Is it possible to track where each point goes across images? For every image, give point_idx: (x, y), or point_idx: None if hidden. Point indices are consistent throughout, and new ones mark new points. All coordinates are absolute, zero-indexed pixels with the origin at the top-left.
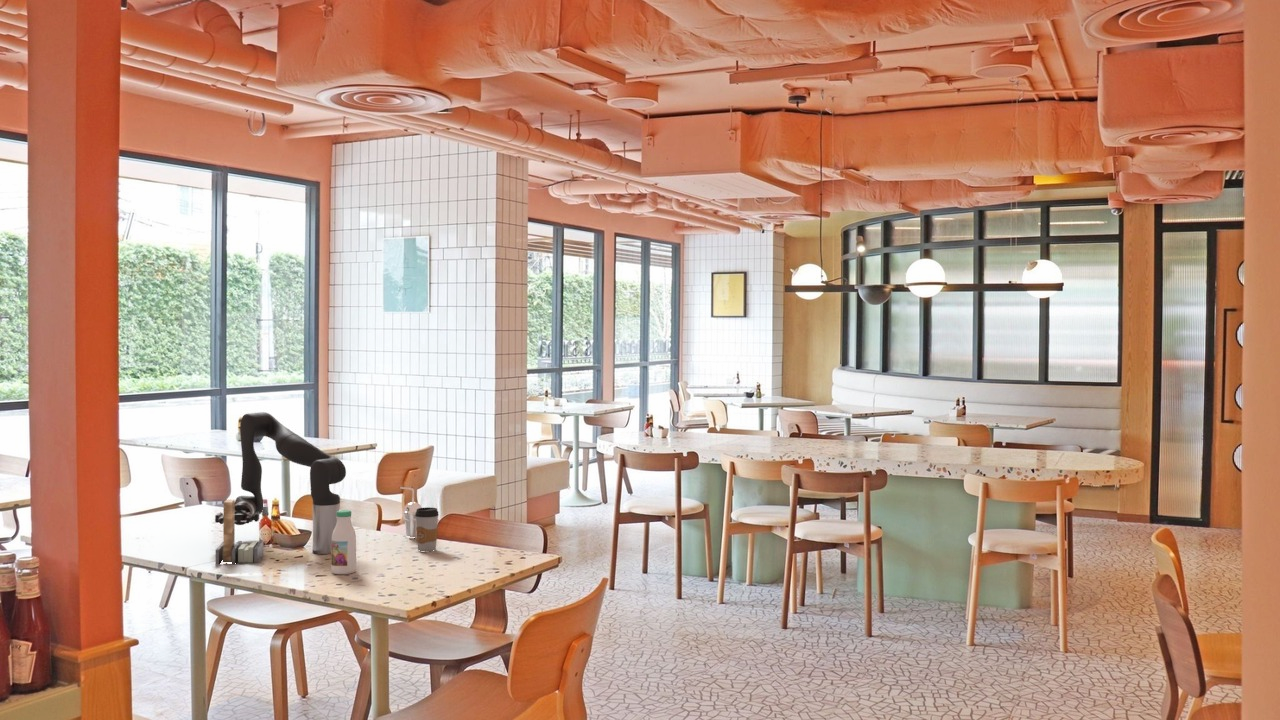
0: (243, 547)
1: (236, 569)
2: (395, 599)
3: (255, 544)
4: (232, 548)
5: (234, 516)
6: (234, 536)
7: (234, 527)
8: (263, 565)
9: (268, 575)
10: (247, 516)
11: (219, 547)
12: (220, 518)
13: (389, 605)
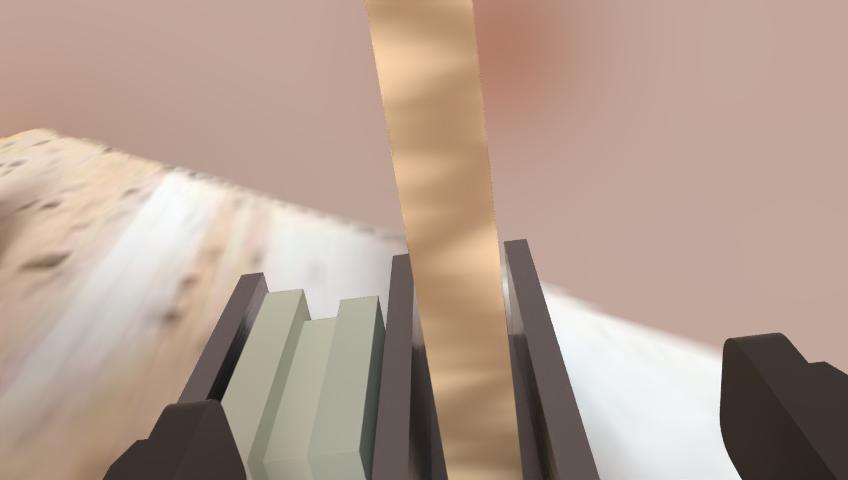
0: (341, 329)
1: None
2: (11, 153)
3: (237, 366)
4: None
5: (384, 109)
6: (423, 334)
7: (407, 241)
8: None
9: (241, 257)
10: (169, 471)
11: (524, 282)
12: (768, 334)
13: (48, 136)
